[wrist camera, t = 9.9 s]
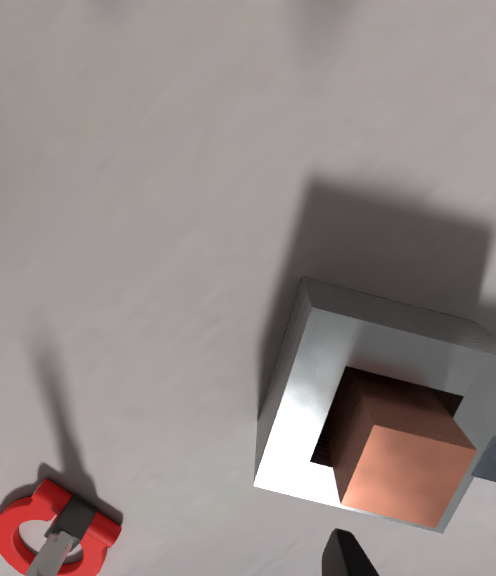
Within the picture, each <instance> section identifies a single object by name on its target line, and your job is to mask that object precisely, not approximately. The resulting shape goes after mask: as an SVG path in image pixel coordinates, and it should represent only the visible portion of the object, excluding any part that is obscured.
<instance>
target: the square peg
mask: <svg viewBox="0 0 496 576" xmlns="http://www.w3.org/2000/svg"><path fill="white" fill-rule="evenodd" d="M324 429H325V434H326V438H327V443H328V448H329V453H330V457H331V462H332V467H333V472H334V476H335V481H336V486H337V491H338V495H339V500H340V505H343V506H347V507H351V508H355V509H359V510H363V511H367V512H371V513H375V514H379V515H383V516H387V517H391V518H395V519H399V520H403V521H407V522H411V523H415V524H419V525H424V526H428V527H432V528H436V527H437V525H438V523H439V521H440V520H441V518H442V516H443V514H444V512H445V510H446V508H447V506H448V505H449V503H450V501H451V499H452V497H453V495H454V493H455V492H456V490H457V488H458V486H459V484H460V482H461V480H462V478H463V477H464V475H465V473H466V471H467V469H468V467H469V465H470V464H471V462H472V460H473V458H474V456H475V454H476V452H477V449H476V448H475V447H474V445H473V444H472V443H471V441H470V440H469V439H468V438H467V436H466V435H465V434H464V432H463V431H462V430H461V428H460V427H459V426H458V424H457V423H456V422H455V420H454V419H453V418H452V416H451V415H450V414H449V412H448V411H447V410H446V409H445V407H444V406H443V405H442V403H441V402H440V401H439V399H438V398H437V397H436V395H435V394H434V393H433V391H432V390H431V389H430V387H426V386H422V385H419V384H415V383H411V382H407V381H403V380H399V379H395V378H391V377H388V376H384V375H380V374H376V373H372V372H368V371H364V370H361V369H357V368H353V367H349V366H345V369H344V372H343V374H342V377H341V379H340V382H339V385H338V387H337V390H336V393H335V395H334V398H333V401H332V403H331V406H330V409H329V411H328V414H327V417H326V419H325V422H324Z"/></svg>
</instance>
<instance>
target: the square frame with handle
mask: <svg viewBox="0 0 496 576" xmlns="http://www.w3.org/2000/svg"><path fill="white" fill-rule="evenodd" d="M345 366H349V367H353V368H357V369H361V370H364V371H368V372H372V373H376V374H380V375H384V376H388V377H391V378H395V379H399V380H403V381H407V382H411V383H415V384H419V385H422V386H426V387H430V389H431V390H432V391H433V393H434V394H435V395H436V397H437V398H438V399H439V401H440V402H441V403H442V405H443V406H444V407H445V409H446V410H447V411H448V412H449V414H450V415H451V416H452V418H453V419H454V420H455V422H456V423H457V424H458V426H459V427H460V428H461V430H462V431H463V432H464V434H465V435H466V436H467V438H468V439H469V440H470V441H471V443H472V444H473V445H474V447H475V448H476V449H477V452H476V454H475V456H474V458H473V460H472V462H471V464H470V465H469V467H468V469H467V471H466V473H465V475H464V477H463V478H462V480H461V482H460V484H459V486H458V488H457V490H456V492H455V493H454V495H453V497H452V499H451V501H450V503H449V505H448V506H447V508H446V510H445V512H444V514H443V516H442V518H441V520H440V521H439V523H438V525H437V527H436V528H432V527H428V526H424V525H419V524H415V523H411V522H407V521H403V520H399V519H395V518H391V517H387V516H383V515H379V514H375V513H371V512H367V511H363V510H359V509H355V508H351V507H347V506H343V505H340V500H339V495H338V491H337V486H336V481H335V476H334V472H333V467H332V462H331V457H330V453H329V448H328V443H327V438H326V434H325V429H324V422H325V419H326V417H327V414H328V411H329V409H330V406H331V403H332V401H333V398H334V395H335V393H336V390H337V387H338V385H339V382H340V379H341V377H342V374H343V372H344V369H345ZM474 477H478V478H482V479H486V480H490V481H494V482H496V337H495V336H493V335H492V334H491V333H489V332H488V331H486V330H485V329H483V328H482V327H481V326H479V325H478V324H476V323H475V322H473V321H469V320H465V319H461V318H458V317H454V316H450V315H446V314H442V313H438V312H435V311H431V310H427V309H423V308H419V307H415V306H412V305H408V304H404V303H400V302H396V301H392V300H389V299H385V298H381V297H377V296H373V295H370V294H366V293H362V292H358V291H354V290H350V289H347V288H343V287H339V286H335V285H331V284H327V283H324V282H320V281H316V280H312V279H308V278H304V277H302V280H301V283H300V286H299V290H298V293H297V296H296V299H295V303H294V306H293V309H292V312H291V315H290V319H289V322H288V325H287V328H286V332H285V335H284V338H283V341H282V345H281V348H280V351H279V354H278V357H277V361H276V364H275V367H274V370H273V374H272V377H271V380H270V383H269V387H268V390H267V393H266V396H265V399H264V403H263V406H262V409H261V412H260V416H259V419H258V422H257V438H256V455H255V472H254V486H257V487H261V488H265V489H269V490H273V491H277V492H281V493H285V494H289V495H293V496H297V497H300V498H304V499H308V500H312V501H316V502H320V503H324V504H328V505H332V506H336V507H340V508H344V509H348V510H352V511H356V512H360V513H363V514H367V515H371V516H375V517H379V518H383V519H387V520H391V521H395V522H399V523H403V524H407V525H411V526H415V527H419V528H423V529H426V530H430V531H434V532H438V533H442V534H443V532H444V530H445V528H446V527H447V525H448V523H449V521H450V519H451V518H452V516H453V514H454V512H455V510H456V509H457V507H458V505H459V503H460V502H461V500H462V498H463V496H464V494H465V493H466V491H467V489H468V487H469V485H470V484H471V482H472V480H473V478H474Z"/></svg>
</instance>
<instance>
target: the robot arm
mask: <svg viewBox="0 0 496 576" xmlns="http://www.w3.org/2000/svg"><path fill="white" fill-rule="evenodd" d="M322 576H379V574H378V573H377V571H376V570H375V568H374V566H373V565H372V563H371V562H370V560H369V559H368V557H367V555H366V554H365V552H364V551H363V549H362V548H361V546H360V545H359V543H358V541H357V540H356V538H355V537H354V535H353V534H352V533H351V532H349V531H345V530H341V529H334V530H333V531H332V533H331V535H330V538H329V540H328V542H327V545H326V547H325V549H324V552H323V556H322Z"/></svg>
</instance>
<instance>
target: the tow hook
mask: <svg viewBox="0 0 496 576" xmlns="http://www.w3.org/2000/svg"><path fill="white" fill-rule="evenodd" d="M55 515H57V516H56V518H55V519H54V521H53V522H52V524H51V526H50V527H49V529H48V530H47V532H46V533H45V535H44V536H45V537H46V538H47V540H46V542H45V544H44V545H43V546H42V548H41V549H40V551H39V553H38V554H37V556H35V555H34V554H33V553H31V552H30V551H29V550H28V549H27V548H26V547H25V545H24V544H23V543H22V541H21V539H20V537H19V532H18V528H19V525H20V524H21V523H23V522H25V521H29V520H44V521H50V520H51V519H52V518H53V517H54V516H55ZM121 529H122V527H120V526H119V525H117V524H116V523H114V522H113V521H111V520H110V519H108V518H107V517H105V516H104V515H102V514H100V513H99V512H97V509H96V508H95V507H93V506H91V505H90V504H88V503H87V502H85V501H84V500H82V499H81V498H79V497H78V496H76V495H74V494H73V495H71V494H70V493H68V492H67V491H65V490H64V489H62V488H60V487H59V486H57V485H56V484H54V483H53V482H51V481H50V480H48V479H47V478H46V479H45V480H44V481H42V482H41V484H40V485H39V486H38V487H37V489H36V490H35V491H34V493H33V495H32V496H31V497H25V498H22V499H19V500H16V501H14V502H13V503H11V504H10V505H8V506H7V507H6V508H5V509H4V510H3V512H2V513H1V514H0V554H1V555H2V556H3V557H4V559H5V560H6V561H7V562H8V563H9V564H10V565H11V566H12V567H13V568H15V569H16V570H17V571H18V572H20V573H21V574H23V575H25V576H96V575H97V574H98V573H99V572H100V569H101V567H102V565H103V563H104V560H105V557H106V555H107V547H108V548H110V547H111V546H112V545H113V544H114V543H115V541H116V540H117V538H118V536H119V534H120V532H121ZM79 543H80V544H81V547H82V549H83V558H82V559H81V560H80V561H78V562H76V563H73V564H63V562H64V560H65V558H66V555H67V554H68V553H69V552H71V551H72V550H73V549H74V548H75V547H76V546H77V545H78V544H79ZM106 546H107V547H106Z"/></svg>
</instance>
